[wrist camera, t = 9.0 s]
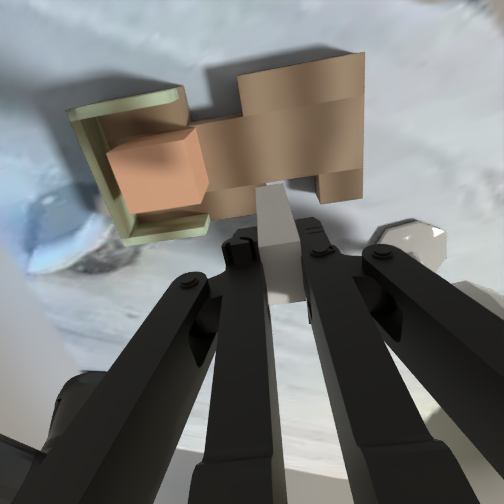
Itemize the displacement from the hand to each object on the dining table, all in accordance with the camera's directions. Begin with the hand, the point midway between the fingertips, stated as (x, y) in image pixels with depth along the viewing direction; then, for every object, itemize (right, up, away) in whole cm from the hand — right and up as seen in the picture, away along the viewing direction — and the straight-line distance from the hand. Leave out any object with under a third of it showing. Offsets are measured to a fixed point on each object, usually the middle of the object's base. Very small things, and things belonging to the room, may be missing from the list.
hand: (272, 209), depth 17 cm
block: (-9, +6, +11) cm, 15 cm away
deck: (-3, +8, +13) cm, 16 cm away
